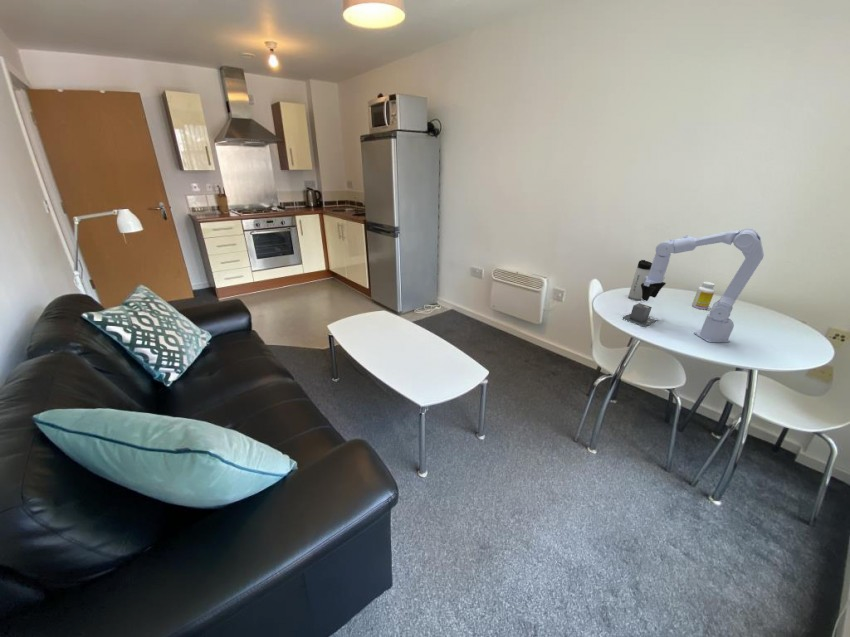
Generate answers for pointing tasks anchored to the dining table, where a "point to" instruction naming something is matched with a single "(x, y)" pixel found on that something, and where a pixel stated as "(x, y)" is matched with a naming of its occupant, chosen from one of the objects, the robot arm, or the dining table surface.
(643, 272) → the travel mug
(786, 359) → the dining table surface
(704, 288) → the supplement bottle
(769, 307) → the dining table surface
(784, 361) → the dining table surface
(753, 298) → the dining table surface
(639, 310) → the grey cube with tab
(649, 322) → the plate
